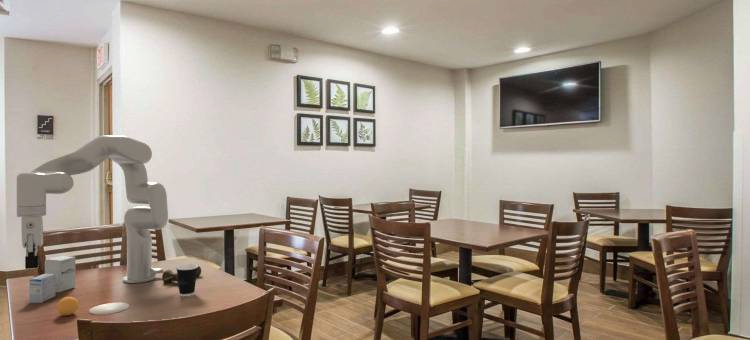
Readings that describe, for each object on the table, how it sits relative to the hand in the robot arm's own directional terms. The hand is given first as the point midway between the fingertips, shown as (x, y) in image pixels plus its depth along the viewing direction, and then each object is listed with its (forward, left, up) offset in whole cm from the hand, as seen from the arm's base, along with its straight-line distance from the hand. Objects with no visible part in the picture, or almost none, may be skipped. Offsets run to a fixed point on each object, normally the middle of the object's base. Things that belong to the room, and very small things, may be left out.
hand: (31, 267), depth 143 cm
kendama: (-50, -25, -18) cm, 58 cm away
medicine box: (-2, -24, -17) cm, 30 cm away
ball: (-10, 0, -14) cm, 17 cm away
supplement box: (-7, -36, -17) cm, 41 cm away
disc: (-22, 0, -17) cm, 27 cm away
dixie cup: (-48, -3, -17) cm, 51 cm away
